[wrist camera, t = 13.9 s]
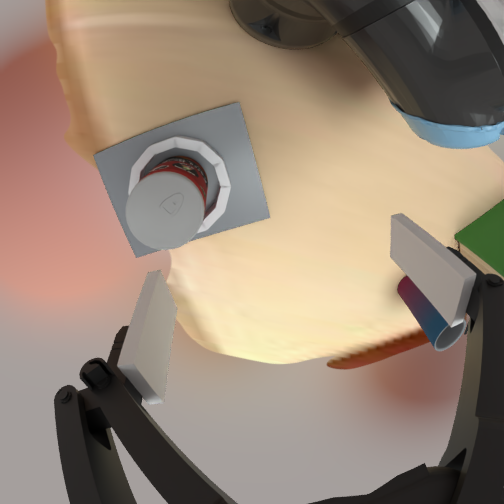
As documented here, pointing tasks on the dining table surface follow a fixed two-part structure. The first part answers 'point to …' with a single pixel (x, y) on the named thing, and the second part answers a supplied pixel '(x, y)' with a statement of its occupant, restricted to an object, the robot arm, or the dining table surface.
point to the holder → (202, 151)
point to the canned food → (168, 203)
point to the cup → (429, 316)
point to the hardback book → (485, 241)
